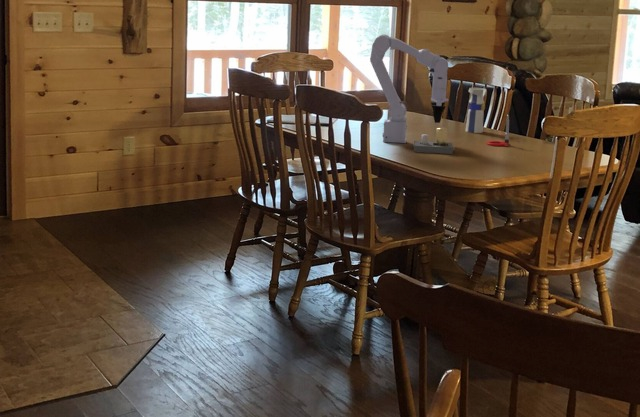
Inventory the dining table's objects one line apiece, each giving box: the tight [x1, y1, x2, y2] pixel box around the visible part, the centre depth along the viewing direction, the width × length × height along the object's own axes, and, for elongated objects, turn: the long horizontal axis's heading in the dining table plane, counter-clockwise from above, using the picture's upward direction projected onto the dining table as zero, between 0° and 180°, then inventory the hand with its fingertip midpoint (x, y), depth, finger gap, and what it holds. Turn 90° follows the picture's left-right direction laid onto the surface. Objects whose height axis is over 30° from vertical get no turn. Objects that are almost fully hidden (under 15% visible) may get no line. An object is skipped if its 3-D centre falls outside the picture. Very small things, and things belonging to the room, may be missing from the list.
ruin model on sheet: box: [386, 109, 391, 120], centre depth 394 cm, size 11×3×10 cm, turn 3°
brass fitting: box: [434, 126, 448, 146], centre depth 342 cm, size 4×4×9 cm
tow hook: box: [485, 114, 510, 147], centre depth 360 cm, size 8×13×9 cm
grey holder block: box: [413, 134, 454, 155], centre depth 343 cm, size 15×11×6 cm
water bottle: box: [465, 76, 488, 134], centre depth 389 cm, size 8×9×25 cm
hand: (436, 121), depth 356 cm, fingers open, 7 cm apart
